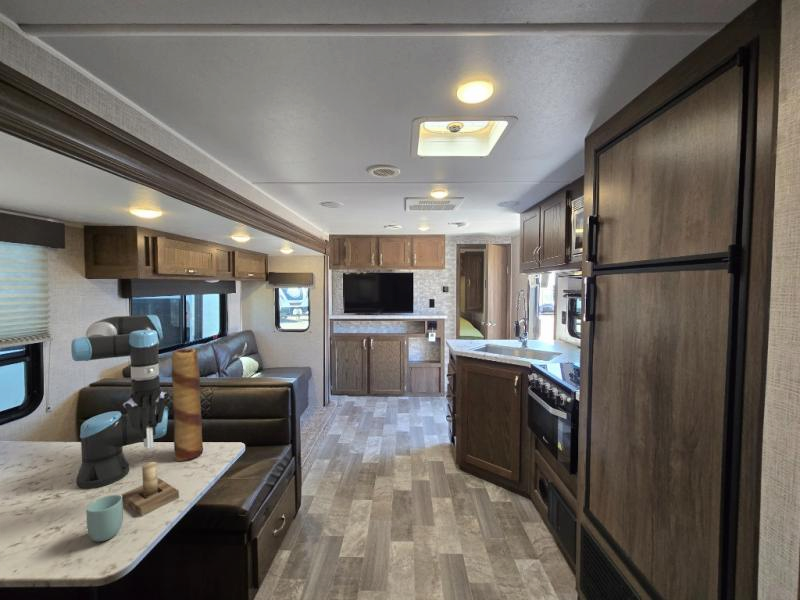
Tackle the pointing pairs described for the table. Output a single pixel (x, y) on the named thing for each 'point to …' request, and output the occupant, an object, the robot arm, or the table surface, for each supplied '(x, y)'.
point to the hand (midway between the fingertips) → (148, 446)
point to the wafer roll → (186, 405)
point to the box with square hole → (150, 498)
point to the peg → (150, 479)
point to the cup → (104, 517)
